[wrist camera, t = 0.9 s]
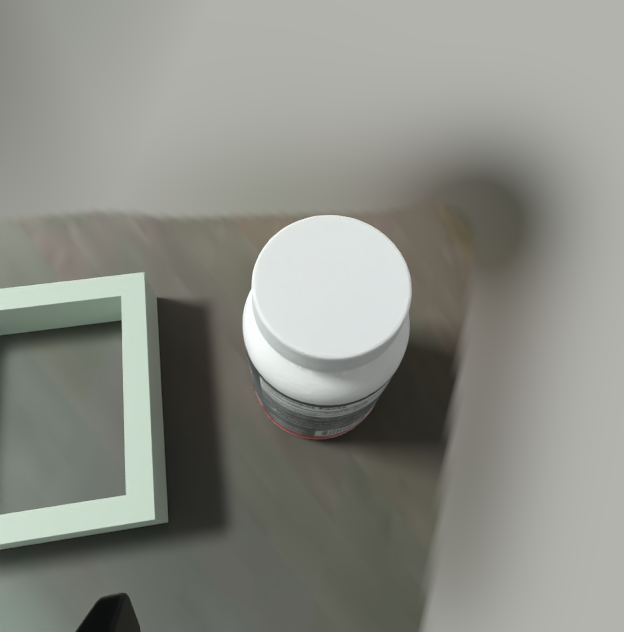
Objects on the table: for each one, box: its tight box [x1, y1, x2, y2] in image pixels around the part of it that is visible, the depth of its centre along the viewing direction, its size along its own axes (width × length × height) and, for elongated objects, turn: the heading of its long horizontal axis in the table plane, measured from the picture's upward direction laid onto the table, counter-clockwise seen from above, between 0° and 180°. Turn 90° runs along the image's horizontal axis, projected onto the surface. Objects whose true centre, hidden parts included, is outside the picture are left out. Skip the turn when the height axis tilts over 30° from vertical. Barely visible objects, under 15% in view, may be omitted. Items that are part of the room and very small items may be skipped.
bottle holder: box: [0, 272, 168, 550], centre depth 22 cm, size 10×10×2 cm
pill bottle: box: [243, 215, 412, 439], centre depth 20 cm, size 6×6×10 cm
